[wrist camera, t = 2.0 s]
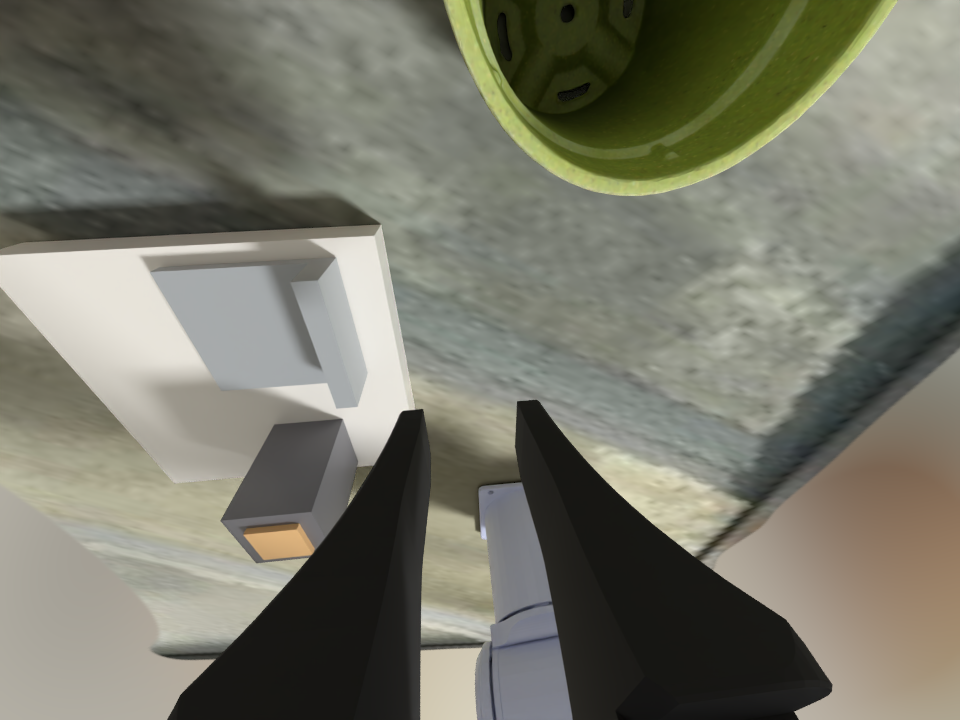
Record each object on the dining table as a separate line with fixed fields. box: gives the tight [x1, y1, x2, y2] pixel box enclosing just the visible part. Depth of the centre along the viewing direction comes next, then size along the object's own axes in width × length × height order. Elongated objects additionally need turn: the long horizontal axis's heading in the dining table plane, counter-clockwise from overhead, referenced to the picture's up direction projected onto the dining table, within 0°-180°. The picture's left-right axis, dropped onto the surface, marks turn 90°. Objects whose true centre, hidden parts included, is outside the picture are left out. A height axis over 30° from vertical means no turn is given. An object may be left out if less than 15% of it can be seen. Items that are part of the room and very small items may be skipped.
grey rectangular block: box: [221, 419, 358, 563], centre depth 19 cm, size 4×4×6 cm
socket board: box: [0, 225, 416, 483], centre depth 19 cm, size 16×15×2 cm
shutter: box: [150, 257, 368, 409], centre depth 15 cm, size 7×6×3 cm
